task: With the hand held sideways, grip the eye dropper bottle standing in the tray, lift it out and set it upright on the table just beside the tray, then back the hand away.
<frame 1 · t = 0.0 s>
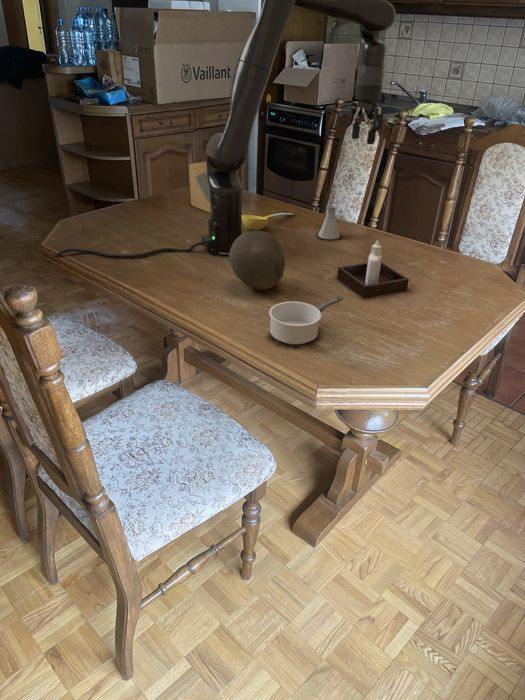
hand: (362, 141, 166), 29 cm above the table, tool pointing down, fingers open, 8 cm apart
eye dropper bottle: (371, 283, 146), resting on tray
saucepan: (307, 330, 124), on the table
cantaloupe: (256, 288, 142), on the table
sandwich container: (211, 208, 201), on the table
flask: (328, 237, 178), on the table
ladle: (270, 224, 187), on the table
tray: (371, 284, 146), on the table
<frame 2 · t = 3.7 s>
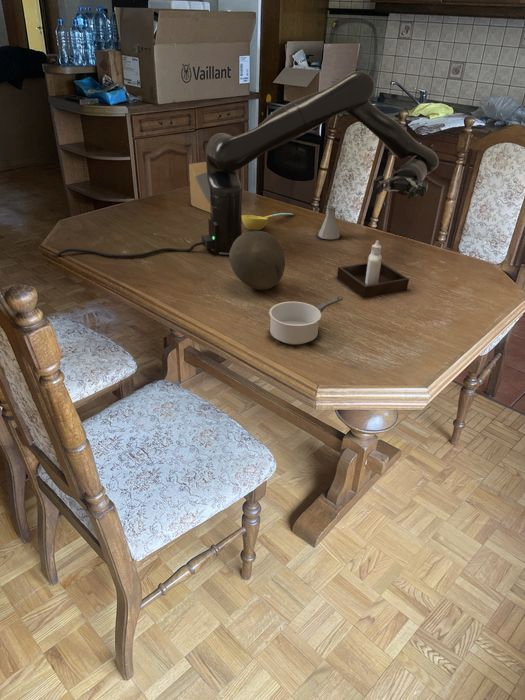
hand: (394, 192, 143), 22 cm above the table, tool horizontal, fingers open, 8 cm apart
nothing on the table moved.
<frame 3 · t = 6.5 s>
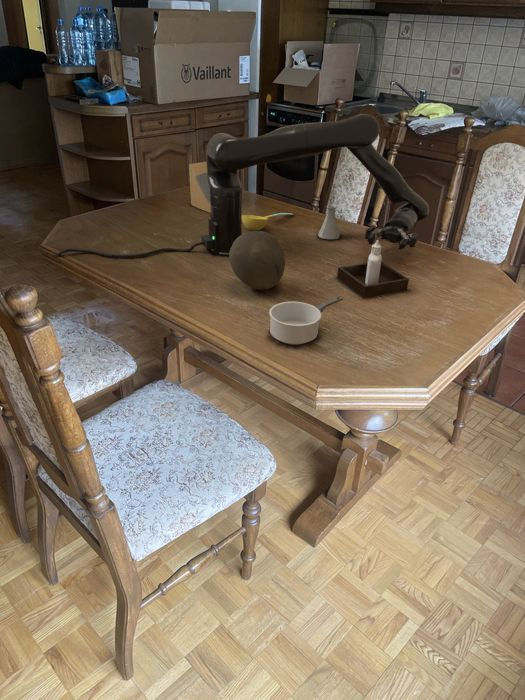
hand: (385, 243, 149), 8 cm above the table, tool horizontal, fingers open, 8 cm apart
nothing on the table moved.
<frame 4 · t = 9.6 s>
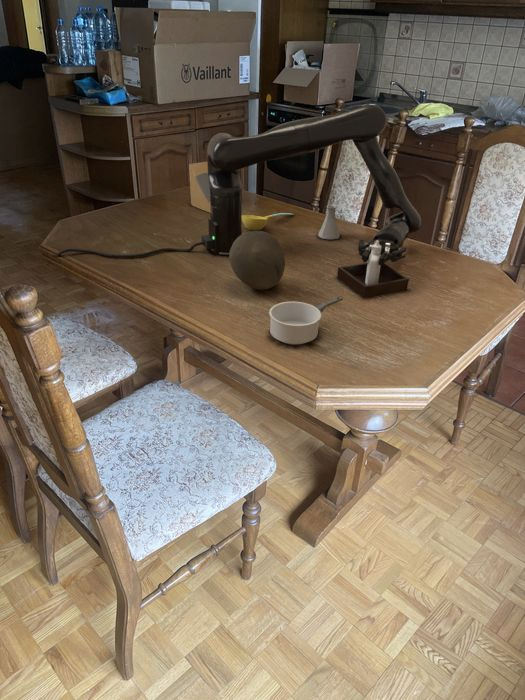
hand: (372, 260, 140), 8 cm above the table, tool horizontal, fingers closed on eye dropper bottle, 3 cm apart
eye dropper bottle: (371, 283, 146), resting on tray, touching gripper
everything else where it was.
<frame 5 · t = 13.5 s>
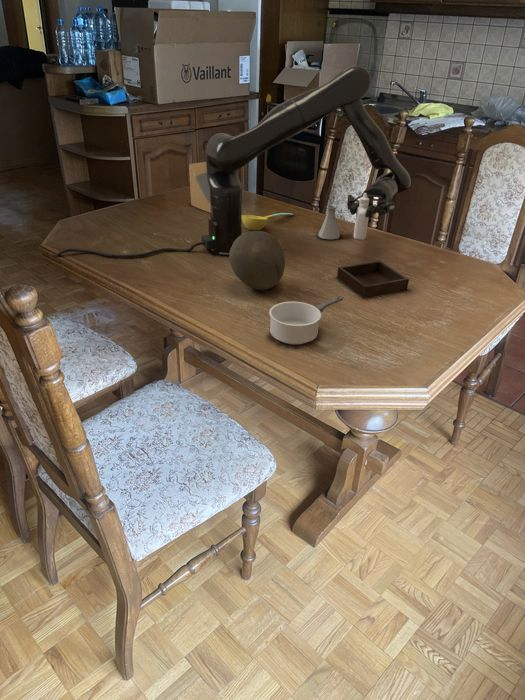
hand: (360, 212, 143), 18 cm above the table, tool horizontal, fingers closed on eye dropper bottle, 3 cm apart
eye dropper bottle: (359, 237, 149), point 10 cm above the table, touching gripper
everything else where it was.
when the fingers open (8 cm above the table, at t = 17.5 s): eye dropper bottle stays where it is, on the table.
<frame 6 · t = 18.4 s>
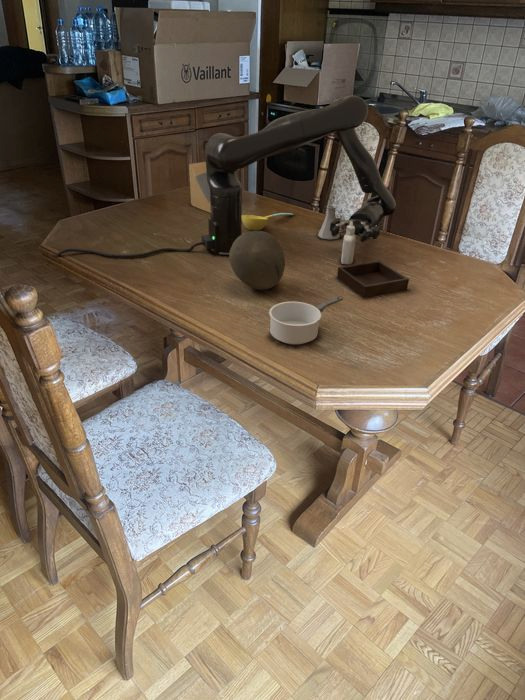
hand: (347, 235, 153), 9 cm above the table, tool horizontal, fingers open, 8 cm apart
eye dropper bottle: (346, 262, 159), on the table
everything else where it was.
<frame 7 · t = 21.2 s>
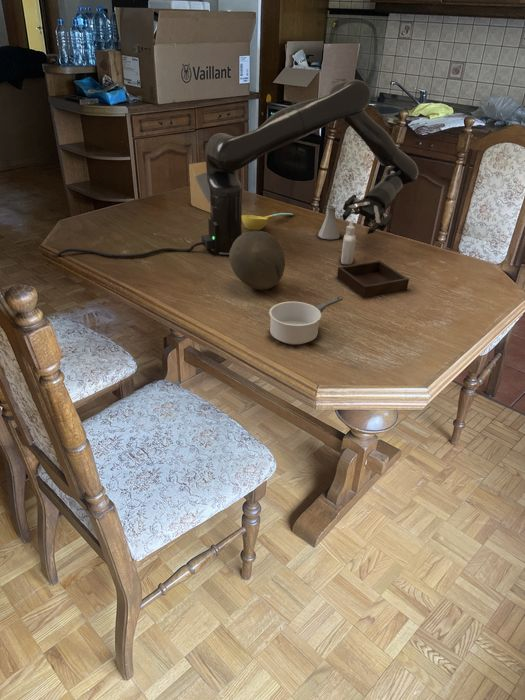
hand: (356, 224, 159), 10 cm above the table, tool tilted 75°, fingers open, 8 cm apart
nothing on the table moved.
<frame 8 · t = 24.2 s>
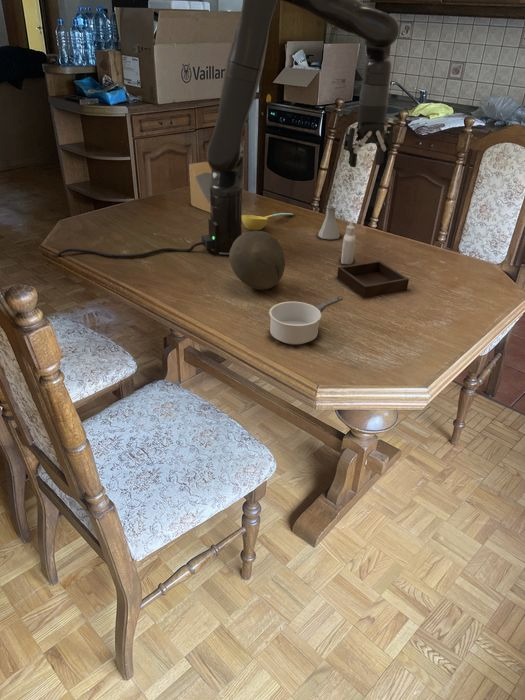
hand: (365, 165, 152), 26 cm above the table, tool pointing down, fingers open, 8 cm apart
nothing on the table moved.
at the end: eye dropper bottle inside the target area (0.1 cm from its centre), on the table; eye dropper bottle tilted 0°; the gripper is holding nothing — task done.
